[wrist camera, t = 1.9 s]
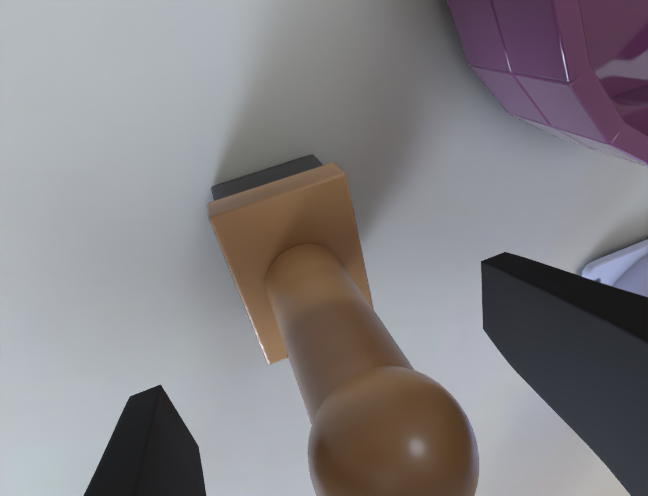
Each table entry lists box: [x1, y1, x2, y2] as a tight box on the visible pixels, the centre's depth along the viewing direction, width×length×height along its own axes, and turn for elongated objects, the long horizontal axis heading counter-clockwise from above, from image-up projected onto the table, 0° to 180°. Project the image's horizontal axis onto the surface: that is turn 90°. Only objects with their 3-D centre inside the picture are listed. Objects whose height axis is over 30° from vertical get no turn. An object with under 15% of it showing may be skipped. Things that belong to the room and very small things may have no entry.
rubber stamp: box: [207, 155, 479, 496], centre depth 10 cm, size 5×4×10 cm
